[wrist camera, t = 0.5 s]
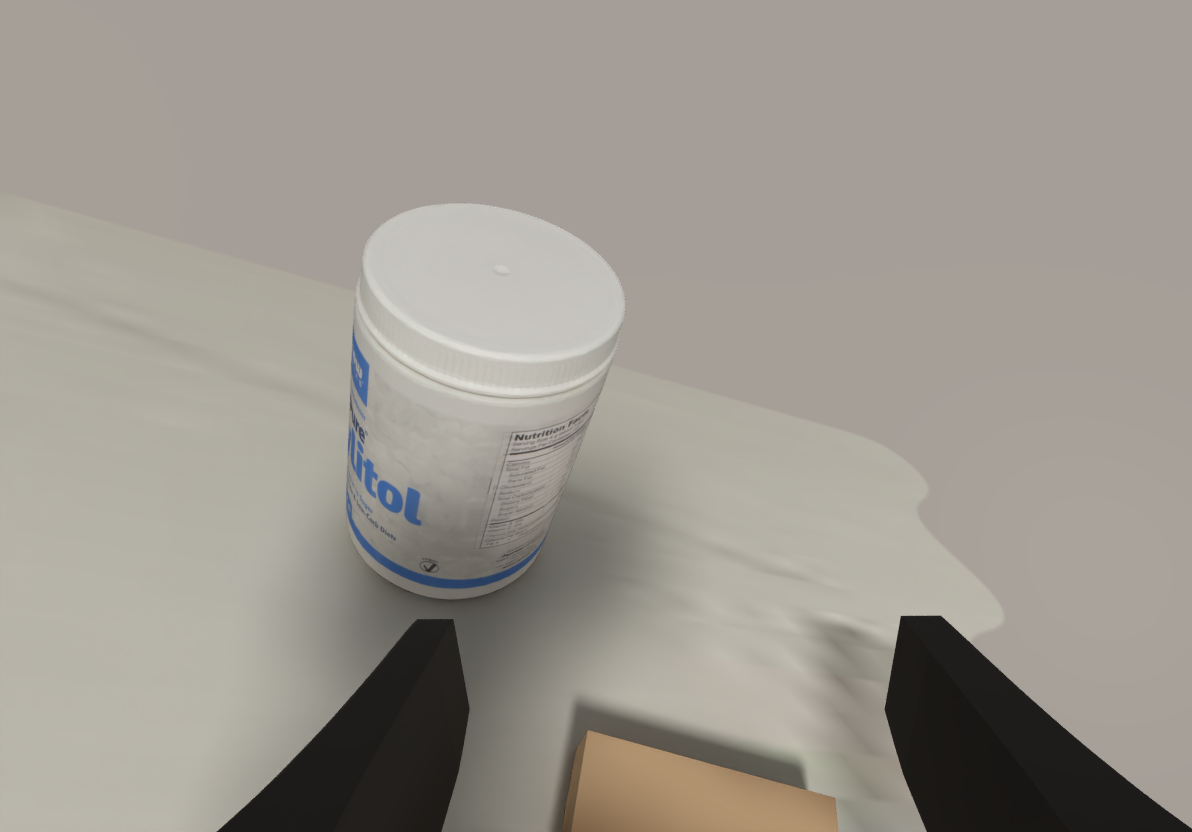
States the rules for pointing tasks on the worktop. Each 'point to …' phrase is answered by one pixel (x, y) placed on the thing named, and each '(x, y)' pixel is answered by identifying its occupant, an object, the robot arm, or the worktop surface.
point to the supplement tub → (471, 391)
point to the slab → (680, 794)
